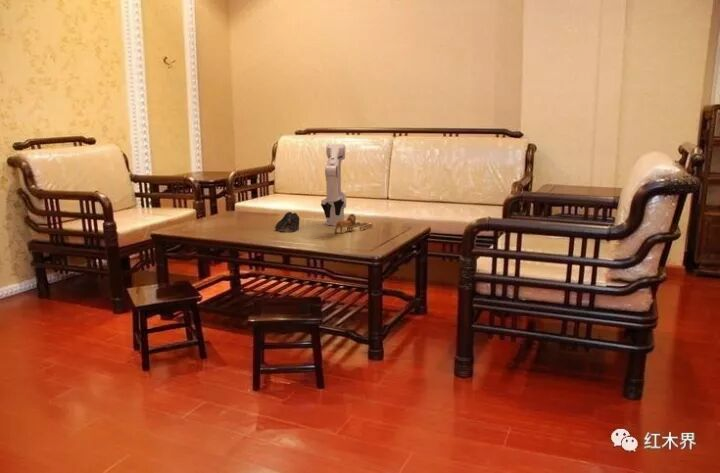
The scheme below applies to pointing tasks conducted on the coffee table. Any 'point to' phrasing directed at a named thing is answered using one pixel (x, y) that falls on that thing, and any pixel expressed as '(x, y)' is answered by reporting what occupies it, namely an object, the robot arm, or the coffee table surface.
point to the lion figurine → (346, 223)
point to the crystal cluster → (288, 223)
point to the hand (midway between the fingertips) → (332, 216)
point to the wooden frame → (362, 225)
